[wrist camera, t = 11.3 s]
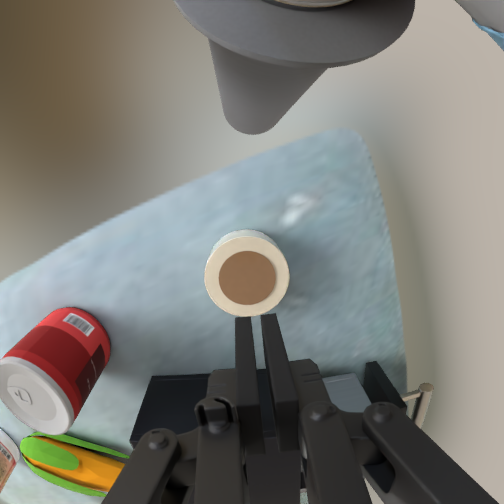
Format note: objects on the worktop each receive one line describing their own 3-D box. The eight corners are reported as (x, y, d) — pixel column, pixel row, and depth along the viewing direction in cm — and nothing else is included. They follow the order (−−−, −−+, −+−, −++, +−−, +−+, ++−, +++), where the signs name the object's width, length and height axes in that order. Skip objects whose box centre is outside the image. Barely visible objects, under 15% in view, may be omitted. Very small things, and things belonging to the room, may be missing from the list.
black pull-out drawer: (416, 350, 30) (453, 391, 23) (400, 423, 33) (425, 464, 26) (255, 379, 30) (261, 435, 22) (263, 450, 33) (269, 501, 25)
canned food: (38, 308, 28) (-22, 359, 17) (98, 300, 28) (43, 360, 17) (63, 369, 30) (19, 431, 19) (122, 366, 30) (87, 440, 19)
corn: (1, 448, 24) (145, 496, 26) (23, 411, 31) (155, 447, 33) (21, 477, 26) (153, 518, 28) (38, 443, 34) (160, 475, 35)
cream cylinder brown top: (202, 233, 27) (198, 241, 24) (281, 225, 27) (287, 232, 24) (212, 305, 29) (210, 321, 26) (286, 298, 29) (291, 312, 26)
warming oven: (284, 366, 31) (301, 433, 21) (288, 445, 34) (299, 506, 24) (151, 375, 30) (128, 441, 21) (178, 452, 33) (168, 512, 24)
